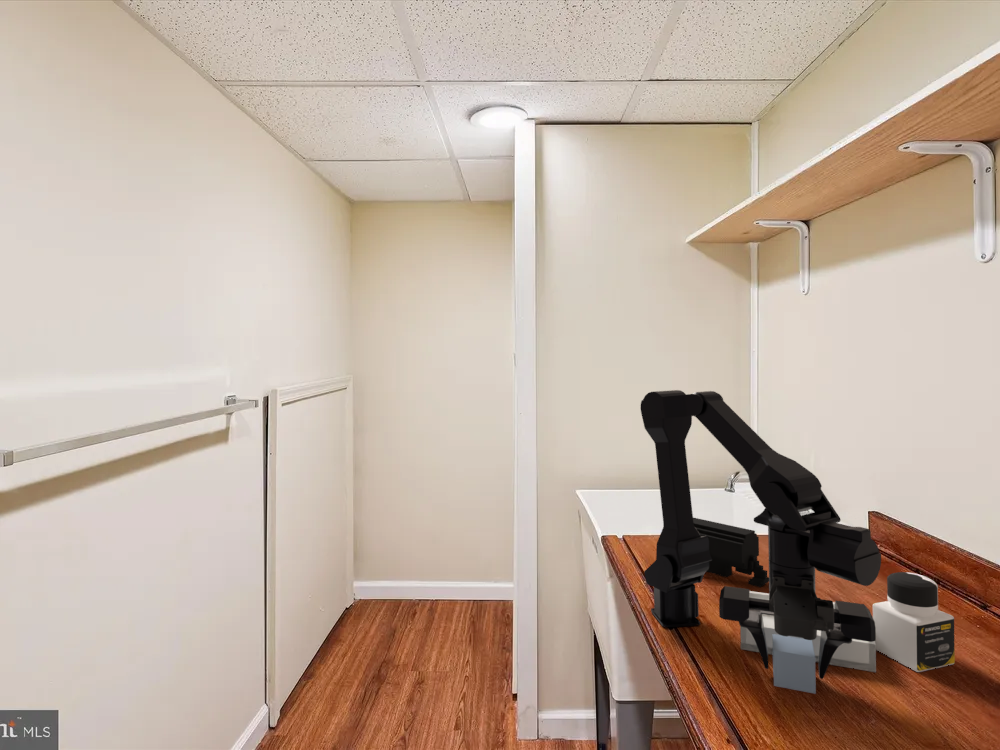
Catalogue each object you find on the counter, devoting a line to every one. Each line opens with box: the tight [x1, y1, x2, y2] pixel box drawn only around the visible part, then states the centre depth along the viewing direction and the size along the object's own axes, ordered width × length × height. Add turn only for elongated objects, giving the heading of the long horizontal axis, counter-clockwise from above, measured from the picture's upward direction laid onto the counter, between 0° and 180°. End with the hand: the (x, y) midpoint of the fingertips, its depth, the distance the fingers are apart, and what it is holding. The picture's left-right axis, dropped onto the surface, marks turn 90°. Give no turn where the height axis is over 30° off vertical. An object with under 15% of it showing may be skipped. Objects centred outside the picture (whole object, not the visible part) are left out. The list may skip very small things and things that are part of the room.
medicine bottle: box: [872, 571, 956, 673], centre depth 83 cm, size 7×7×12 cm
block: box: [772, 634, 817, 695], centre depth 78 cm, size 5×5×5 cm
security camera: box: [693, 517, 769, 588], centre depth 117 cm, size 7×18×10 cm, turn 39°
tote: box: [739, 590, 877, 673], centre depth 89 cm, size 18×14×4 cm
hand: (793, 672), depth 78 cm, fingers open, 6 cm apart
